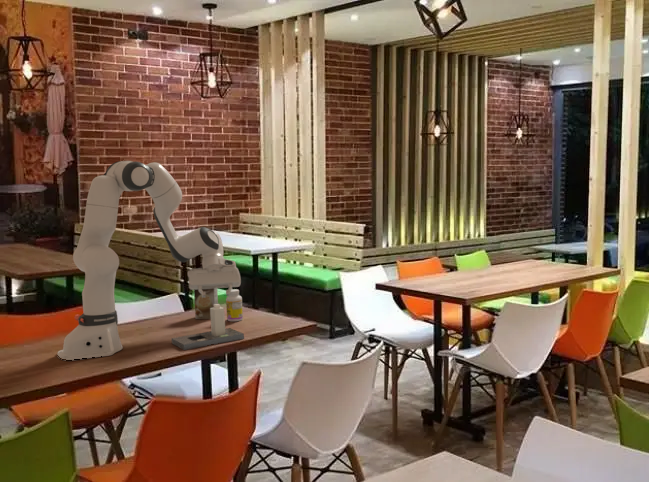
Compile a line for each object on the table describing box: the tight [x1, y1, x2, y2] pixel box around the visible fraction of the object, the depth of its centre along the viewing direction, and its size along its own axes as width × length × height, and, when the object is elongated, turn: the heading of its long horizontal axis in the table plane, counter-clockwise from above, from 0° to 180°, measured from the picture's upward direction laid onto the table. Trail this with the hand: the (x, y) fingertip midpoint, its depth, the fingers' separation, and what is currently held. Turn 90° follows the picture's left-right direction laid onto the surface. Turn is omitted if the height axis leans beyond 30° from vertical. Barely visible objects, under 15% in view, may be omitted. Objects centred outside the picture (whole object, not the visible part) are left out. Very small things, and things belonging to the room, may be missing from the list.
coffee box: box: [193, 288, 219, 320], centre depth 305 cm, size 9×6×16 cm
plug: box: [210, 303, 226, 337], centre depth 267 cm, size 4×4×13 cm
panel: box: [171, 327, 245, 351], centre depth 265 cm, size 24×12×2 cm, turn 123°
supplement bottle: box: [225, 288, 244, 323], centre depth 298 cm, size 7×7×13 cm
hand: (216, 295), depth 274 cm, fingers open, 8 cm apart
